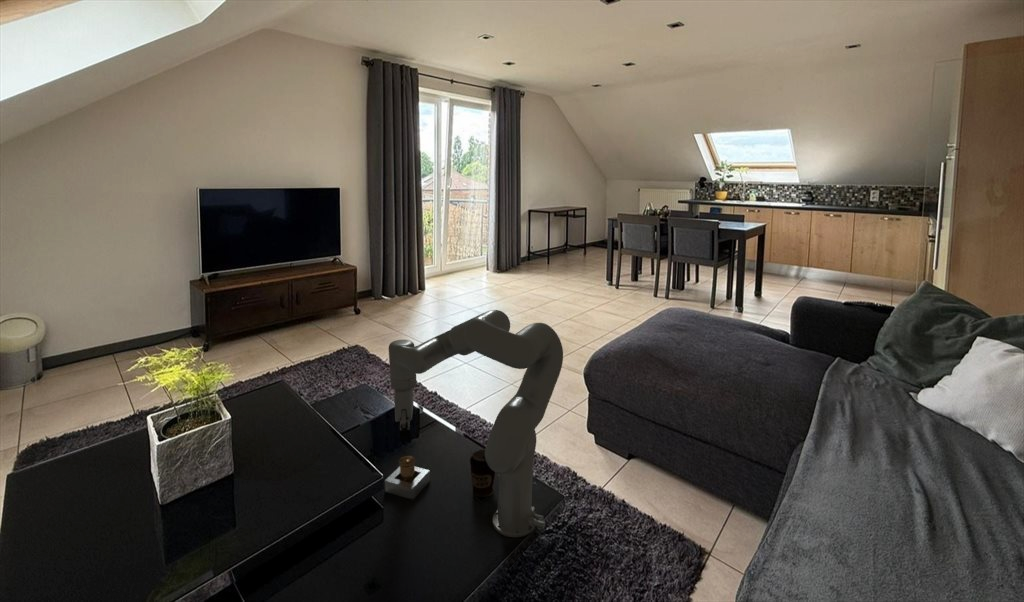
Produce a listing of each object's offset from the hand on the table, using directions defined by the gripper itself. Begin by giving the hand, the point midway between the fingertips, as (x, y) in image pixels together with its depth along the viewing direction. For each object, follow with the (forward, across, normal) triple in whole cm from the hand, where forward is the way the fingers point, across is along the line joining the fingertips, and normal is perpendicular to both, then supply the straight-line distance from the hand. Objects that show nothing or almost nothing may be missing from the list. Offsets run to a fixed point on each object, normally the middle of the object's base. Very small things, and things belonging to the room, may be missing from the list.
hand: (406, 432), depth 150 cm
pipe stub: (+19, 0, 0) cm, 19 cm away
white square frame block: (+19, 0, -1) cm, 19 cm away
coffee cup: (+20, +5, +23) cm, 31 cm away
